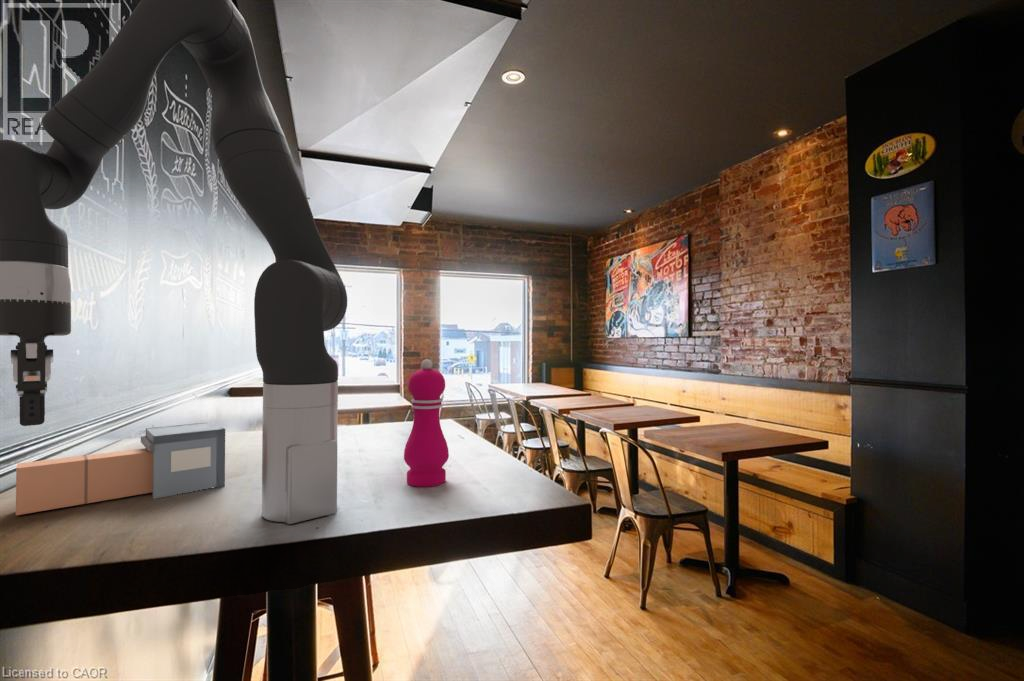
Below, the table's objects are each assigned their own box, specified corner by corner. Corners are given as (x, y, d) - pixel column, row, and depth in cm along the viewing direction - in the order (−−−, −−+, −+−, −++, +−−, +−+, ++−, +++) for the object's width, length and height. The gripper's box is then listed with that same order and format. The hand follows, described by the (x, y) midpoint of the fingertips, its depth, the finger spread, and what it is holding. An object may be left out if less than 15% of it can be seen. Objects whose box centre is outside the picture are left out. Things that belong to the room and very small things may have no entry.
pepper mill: (424, 491, 73) (425, 360, 73) (394, 482, 77) (395, 359, 77) (457, 480, 79) (458, 359, 79) (427, 473, 83) (428, 358, 83)
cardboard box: (160, 491, 71) (160, 450, 71) (15, 515, 61) (16, 468, 61) (156, 486, 74) (156, 446, 74) (17, 508, 64) (17, 462, 64)
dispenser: (225, 486, 75) (225, 429, 75) (148, 500, 68) (149, 436, 68) (210, 474, 82) (211, 421, 82) (140, 485, 75) (140, 428, 75)
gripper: (72, 296, 61) (73, 423, 61) (69, 305, 71) (69, 414, 71) (-15, 292, 56) (-14, 432, 56) (-5, 302, 66) (-5, 420, 66)
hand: (33, 421), depth 63 cm, fingers open, 8 cm apart
